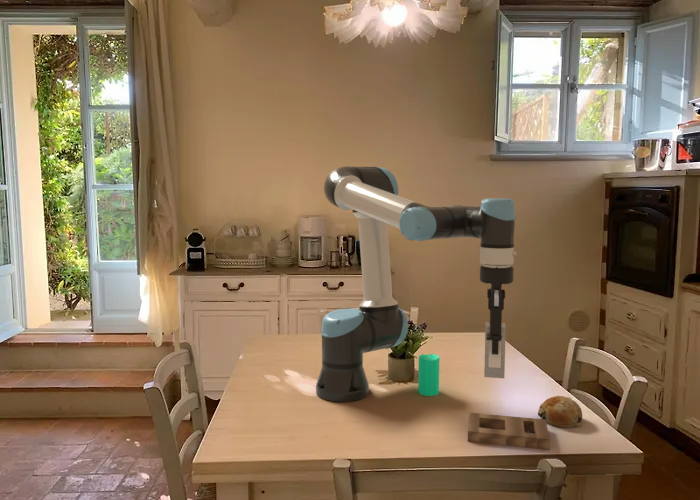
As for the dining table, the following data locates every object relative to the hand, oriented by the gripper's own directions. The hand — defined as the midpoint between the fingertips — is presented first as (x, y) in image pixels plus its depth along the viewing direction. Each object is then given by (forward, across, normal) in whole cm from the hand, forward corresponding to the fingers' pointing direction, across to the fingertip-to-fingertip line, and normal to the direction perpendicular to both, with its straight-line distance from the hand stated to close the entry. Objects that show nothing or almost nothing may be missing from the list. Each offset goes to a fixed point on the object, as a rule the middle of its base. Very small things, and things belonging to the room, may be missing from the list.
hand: (494, 363), depth 132 cm
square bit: (+3, 0, 0) cm, 3 cm away
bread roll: (+18, +12, -16) cm, 27 cm away
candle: (+17, +24, +18) cm, 35 cm away
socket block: (+17, 0, -3) cm, 18 cm away
